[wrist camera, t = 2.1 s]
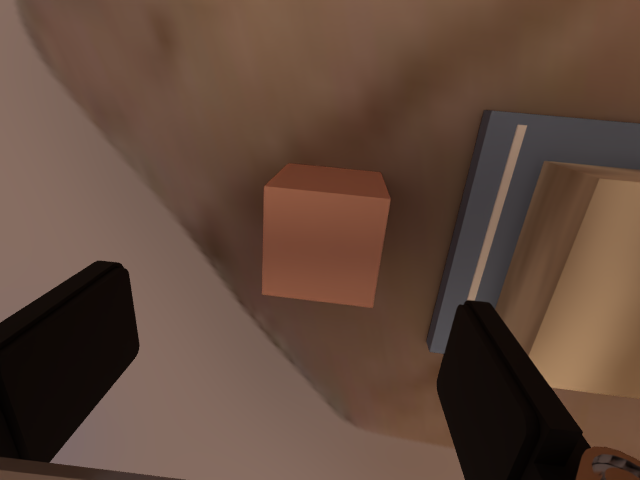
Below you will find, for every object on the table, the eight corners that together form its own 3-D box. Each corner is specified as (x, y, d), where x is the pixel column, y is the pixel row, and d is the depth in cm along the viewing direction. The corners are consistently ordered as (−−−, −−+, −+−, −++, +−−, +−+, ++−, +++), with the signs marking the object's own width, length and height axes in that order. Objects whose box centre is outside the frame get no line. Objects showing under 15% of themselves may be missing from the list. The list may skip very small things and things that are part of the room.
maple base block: (766, 181, 16) (891, 206, 12) (664, 353, 20) (736, 411, 16) (544, 160, 16) (599, 178, 13) (487, 331, 20) (517, 383, 17)
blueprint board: (836, 140, 16) (869, 143, 15) (686, 373, 21) (703, 387, 20) (484, 109, 17) (492, 110, 16) (426, 341, 22) (429, 353, 21)
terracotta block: (380, 171, 18) (390, 199, 13) (368, 256, 20) (372, 307, 15) (288, 162, 19) (264, 186, 14) (284, 246, 21) (262, 294, 15)
